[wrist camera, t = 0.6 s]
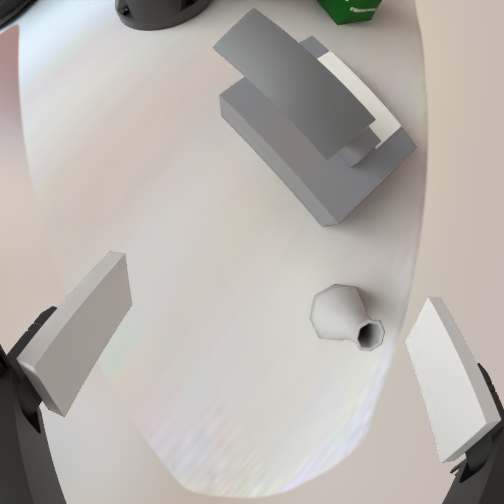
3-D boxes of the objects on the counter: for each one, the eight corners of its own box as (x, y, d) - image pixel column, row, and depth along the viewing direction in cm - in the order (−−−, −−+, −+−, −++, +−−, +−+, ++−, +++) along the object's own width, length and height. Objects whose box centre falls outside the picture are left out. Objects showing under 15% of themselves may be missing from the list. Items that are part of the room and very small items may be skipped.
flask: (360, 278, 36) (400, 290, 26) (365, 332, 36) (403, 359, 27) (305, 289, 36) (330, 307, 26) (312, 345, 36) (337, 379, 26)
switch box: (321, 226, 36) (345, 222, 28) (221, 116, 34) (218, 86, 26) (393, 158, 36) (426, 142, 28) (302, 60, 35) (315, 26, 27)
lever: (339, 149, 29) (327, 160, 11) (293, 100, 29) (212, 47, 11) (358, 133, 28) (376, 119, 10) (311, 84, 27) (253, 7, 10)
